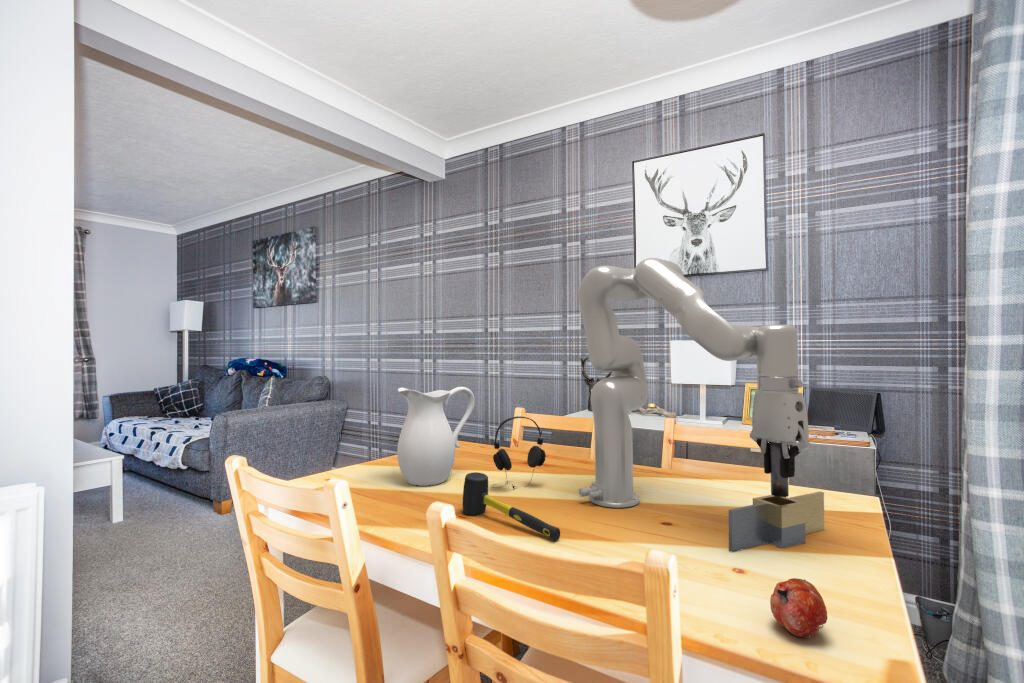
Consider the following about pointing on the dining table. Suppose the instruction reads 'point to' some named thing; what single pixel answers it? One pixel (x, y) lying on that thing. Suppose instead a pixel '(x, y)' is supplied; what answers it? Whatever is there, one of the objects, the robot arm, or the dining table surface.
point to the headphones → (534, 455)
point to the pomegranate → (798, 607)
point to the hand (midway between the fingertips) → (779, 474)
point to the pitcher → (429, 436)
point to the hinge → (776, 521)
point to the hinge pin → (777, 470)
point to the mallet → (499, 505)
